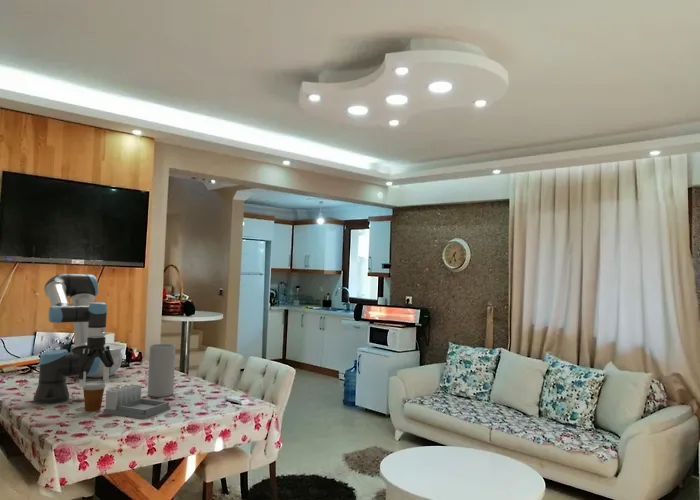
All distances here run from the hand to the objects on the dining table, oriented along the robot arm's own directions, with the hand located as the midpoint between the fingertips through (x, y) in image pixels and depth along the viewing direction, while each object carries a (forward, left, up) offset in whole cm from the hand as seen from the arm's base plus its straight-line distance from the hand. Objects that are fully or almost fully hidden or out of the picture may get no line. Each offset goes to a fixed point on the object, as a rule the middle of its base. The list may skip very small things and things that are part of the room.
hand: (94, 384), depth 245 cm
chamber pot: (-56, +59, -12) cm, 83 cm away
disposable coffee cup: (0, 0, -12) cm, 12 cm away
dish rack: (+18, +8, -12) cm, 23 cm away
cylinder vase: (+6, +38, -12) cm, 40 cm away
